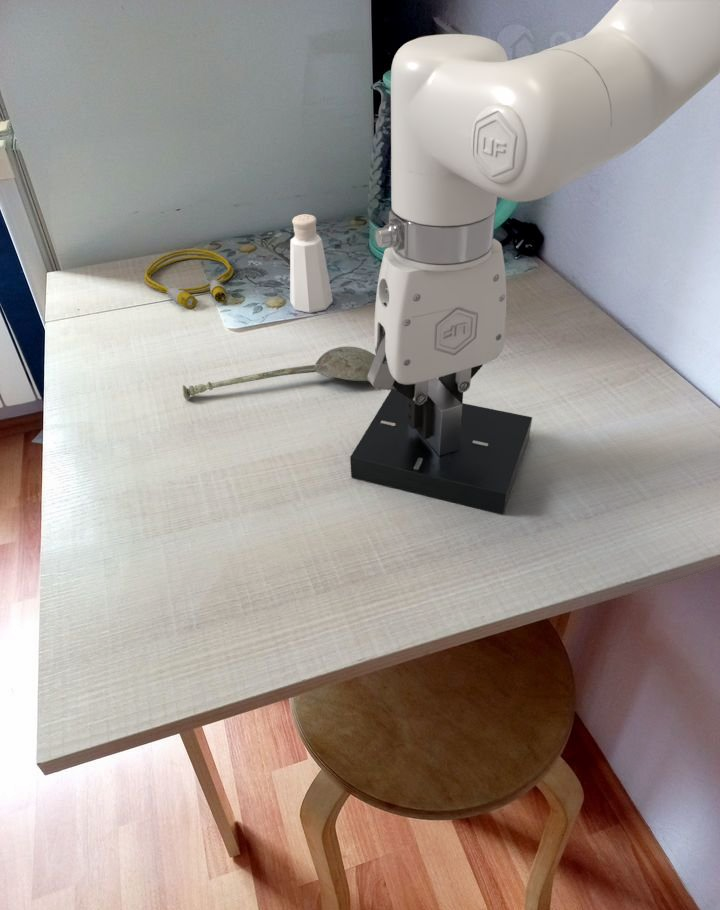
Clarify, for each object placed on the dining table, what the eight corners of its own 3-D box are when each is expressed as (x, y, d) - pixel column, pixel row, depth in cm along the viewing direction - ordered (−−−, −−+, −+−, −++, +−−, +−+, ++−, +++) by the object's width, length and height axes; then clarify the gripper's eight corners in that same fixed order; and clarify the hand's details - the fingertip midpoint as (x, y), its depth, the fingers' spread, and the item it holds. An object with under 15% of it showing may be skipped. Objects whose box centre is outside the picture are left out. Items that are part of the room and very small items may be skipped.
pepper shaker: (292, 292, 91) (283, 209, 84) (334, 292, 91) (329, 208, 84) (287, 313, 87) (277, 227, 80) (331, 313, 87) (325, 227, 80)
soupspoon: (394, 392, 75) (380, 361, 80) (395, 364, 73) (381, 334, 78) (184, 416, 72) (184, 382, 77) (179, 388, 70) (179, 355, 75)
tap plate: (529, 437, 68) (532, 415, 66) (503, 515, 60) (506, 492, 58) (391, 408, 72) (391, 387, 70) (351, 477, 64) (349, 455, 63)
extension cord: (129, 313, 89) (125, 298, 87) (157, 257, 101) (154, 244, 99) (225, 310, 88) (223, 295, 87) (242, 255, 100) (240, 241, 99)
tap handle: (459, 449, 63) (462, 402, 59) (439, 456, 62) (441, 408, 59) (427, 413, 67) (429, 366, 64) (408, 418, 66) (409, 372, 63)
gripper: (364, 274, 47) (370, 477, 59) (562, 228, 52) (531, 425, 64) (323, 233, 52) (336, 427, 64) (506, 194, 57) (487, 382, 69)
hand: (433, 424), depth 64 cm, fingers closed on tap handle, 2 cm apart
